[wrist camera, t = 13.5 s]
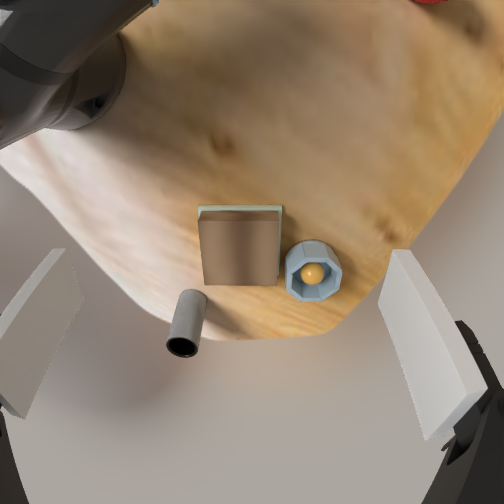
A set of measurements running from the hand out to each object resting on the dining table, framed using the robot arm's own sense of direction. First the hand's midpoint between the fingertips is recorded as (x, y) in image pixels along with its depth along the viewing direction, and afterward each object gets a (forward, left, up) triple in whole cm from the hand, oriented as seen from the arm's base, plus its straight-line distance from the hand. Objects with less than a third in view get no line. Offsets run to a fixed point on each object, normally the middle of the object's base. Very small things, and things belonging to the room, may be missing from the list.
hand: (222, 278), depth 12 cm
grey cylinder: (-9, -26, -29) cm, 40 cm away
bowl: (+9, -19, -29) cm, 36 cm away
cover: (-1, -16, -28) cm, 32 cm away
